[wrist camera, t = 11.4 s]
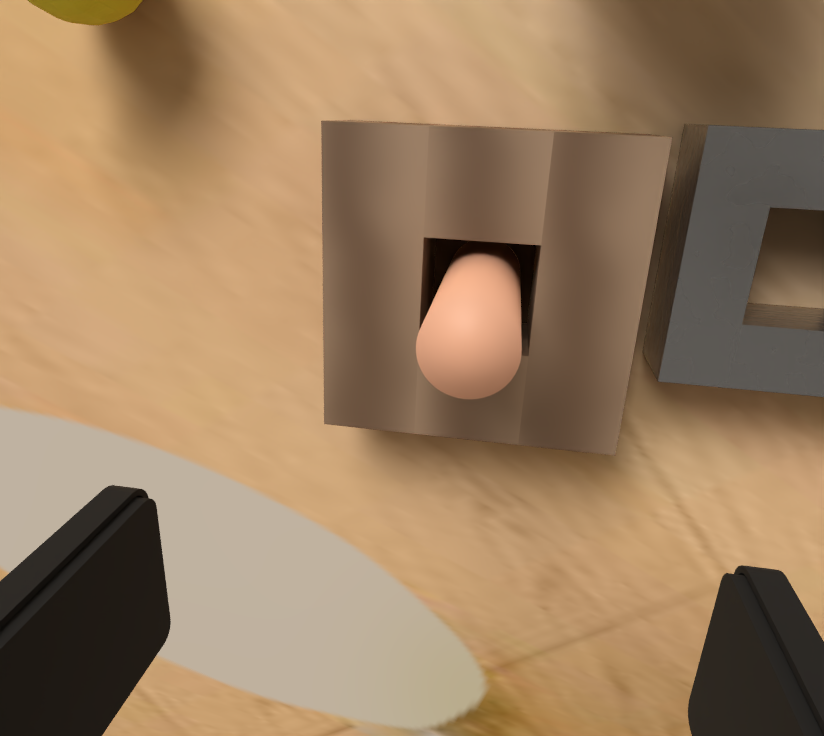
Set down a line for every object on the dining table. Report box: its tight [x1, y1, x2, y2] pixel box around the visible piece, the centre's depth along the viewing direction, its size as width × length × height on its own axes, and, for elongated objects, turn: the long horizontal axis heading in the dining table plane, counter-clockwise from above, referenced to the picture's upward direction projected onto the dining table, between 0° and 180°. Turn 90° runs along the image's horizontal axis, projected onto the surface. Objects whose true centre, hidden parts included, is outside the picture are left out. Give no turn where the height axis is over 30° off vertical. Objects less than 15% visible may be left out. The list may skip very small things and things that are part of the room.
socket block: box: [321, 120, 672, 455], centre depth 31 cm, size 14×14×5 cm
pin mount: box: [643, 124, 824, 397], centre depth 29 cm, size 11×11×4 cm
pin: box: [416, 241, 522, 399], centre depth 27 cm, size 4×4×12 cm
